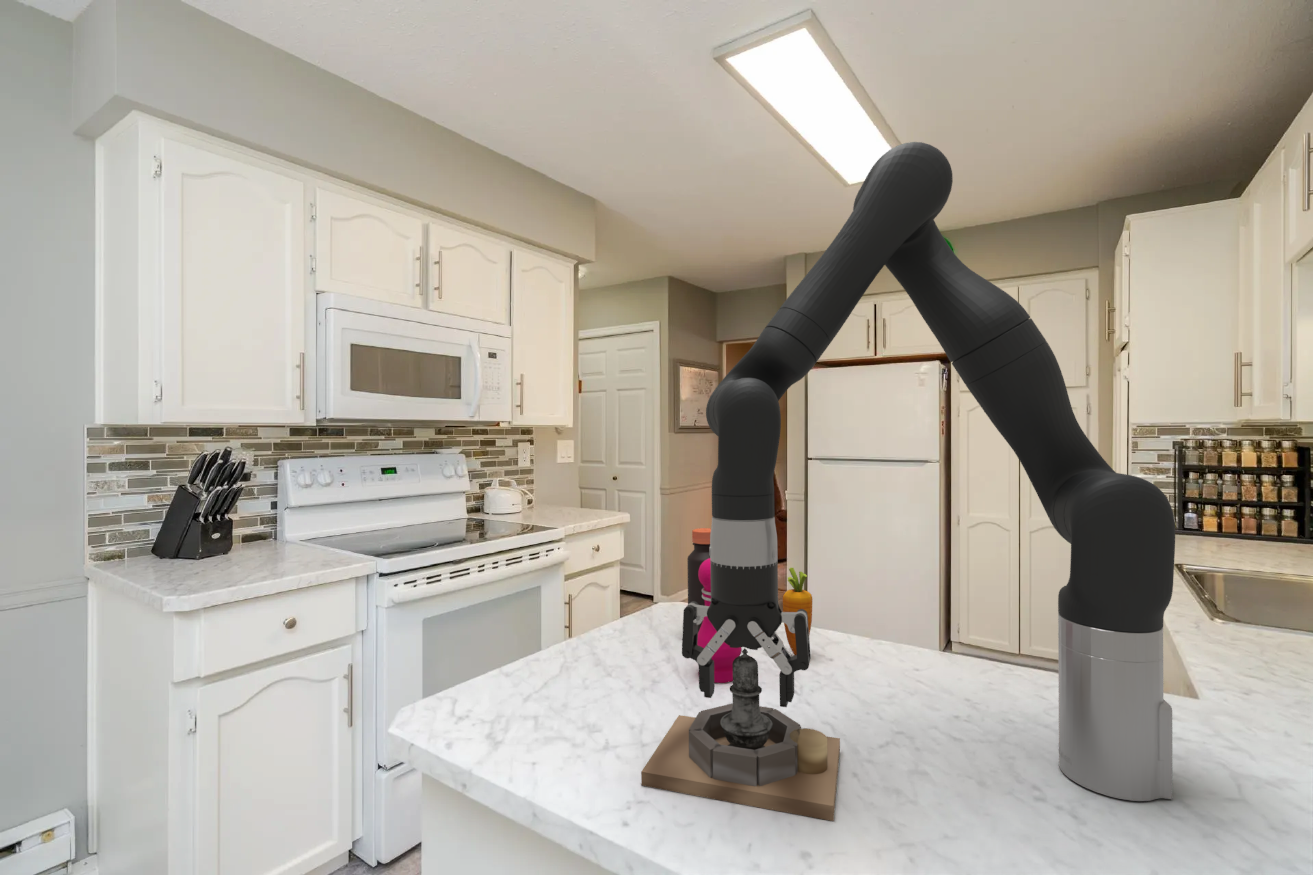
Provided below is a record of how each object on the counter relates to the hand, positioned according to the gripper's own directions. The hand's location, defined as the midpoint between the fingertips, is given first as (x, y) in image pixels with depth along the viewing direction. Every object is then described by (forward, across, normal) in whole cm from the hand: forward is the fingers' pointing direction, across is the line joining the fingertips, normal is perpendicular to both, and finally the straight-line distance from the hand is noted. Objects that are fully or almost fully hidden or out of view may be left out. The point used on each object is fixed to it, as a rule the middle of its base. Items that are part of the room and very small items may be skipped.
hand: (745, 699), depth 70 cm
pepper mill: (+8, +9, -25) cm, 28 cm away
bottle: (+8, +15, -41) cm, 44 cm away
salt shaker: (+6, 0, 0) cm, 7 cm away
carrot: (+8, -2, -36) cm, 37 cm away
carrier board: (+8, 0, 0) cm, 8 cm away
